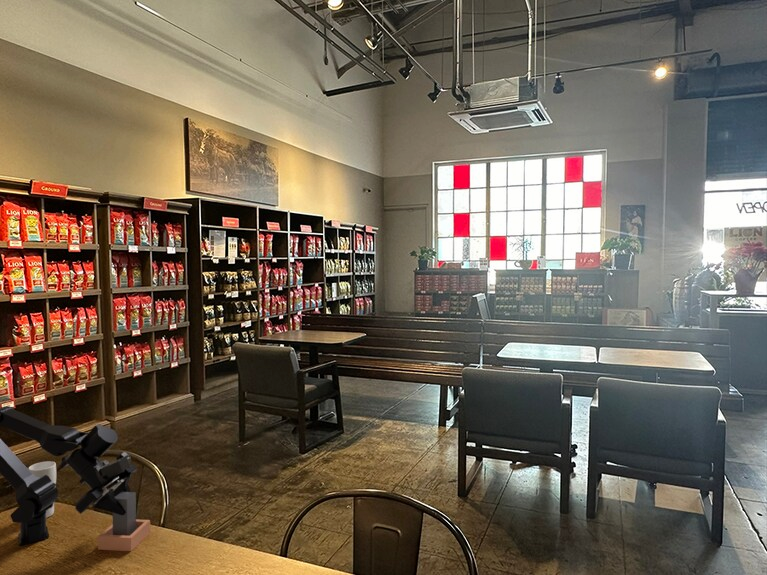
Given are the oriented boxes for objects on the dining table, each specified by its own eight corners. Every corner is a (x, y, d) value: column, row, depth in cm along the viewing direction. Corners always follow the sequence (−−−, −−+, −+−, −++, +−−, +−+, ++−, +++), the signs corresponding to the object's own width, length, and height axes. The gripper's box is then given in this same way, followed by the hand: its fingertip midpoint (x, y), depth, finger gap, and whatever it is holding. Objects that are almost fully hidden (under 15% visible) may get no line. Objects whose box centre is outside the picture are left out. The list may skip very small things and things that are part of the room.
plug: (112, 539, 129) (112, 498, 129) (121, 531, 133) (121, 491, 133) (127, 540, 129) (127, 499, 128) (136, 532, 133) (135, 492, 132)
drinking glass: (42, 523, 140) (41, 471, 139) (22, 520, 141) (21, 469, 140) (62, 511, 146) (61, 462, 146) (43, 508, 148) (42, 460, 147)
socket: (98, 549, 127) (97, 536, 127) (119, 530, 136) (119, 518, 136) (131, 551, 126) (131, 538, 126) (150, 532, 135) (150, 520, 135)
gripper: (86, 461, 121) (129, 507, 121) (130, 435, 140) (167, 475, 139) (56, 491, 122) (99, 536, 122) (104, 461, 140) (141, 501, 140)
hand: (129, 510), depth 131 cm, fingers closed on plug, 4 cm apart
